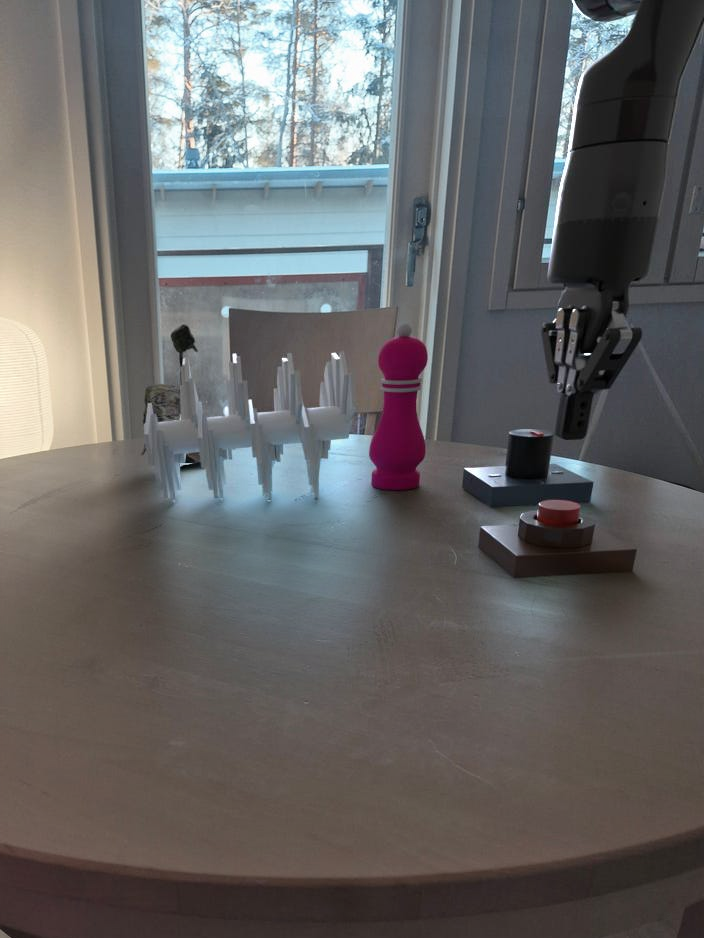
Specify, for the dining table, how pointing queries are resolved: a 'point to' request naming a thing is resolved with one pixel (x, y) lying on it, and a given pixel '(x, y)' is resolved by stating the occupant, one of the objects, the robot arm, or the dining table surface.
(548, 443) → the dial
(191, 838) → the dining table surface
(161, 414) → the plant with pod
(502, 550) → the switch block
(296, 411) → the spiral staircase
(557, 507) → the button
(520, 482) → the panel
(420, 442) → the pepper mill
